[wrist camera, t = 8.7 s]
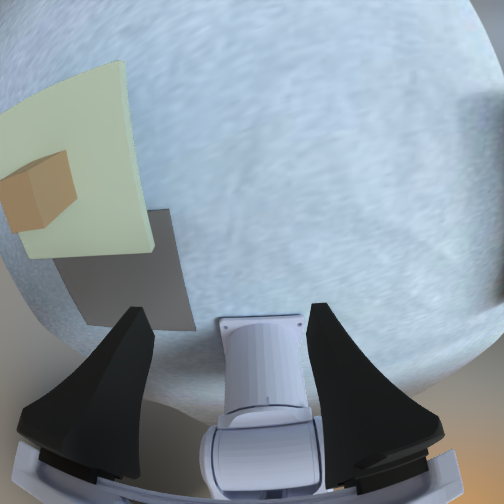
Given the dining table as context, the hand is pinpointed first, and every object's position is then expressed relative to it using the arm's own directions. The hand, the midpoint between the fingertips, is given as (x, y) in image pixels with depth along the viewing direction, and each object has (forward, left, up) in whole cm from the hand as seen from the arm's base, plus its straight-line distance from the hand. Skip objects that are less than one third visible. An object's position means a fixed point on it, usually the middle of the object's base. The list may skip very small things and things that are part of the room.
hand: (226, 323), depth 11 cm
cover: (+6, +10, -6) cm, 13 cm away
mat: (-6, +11, -9) cm, 15 cm away
